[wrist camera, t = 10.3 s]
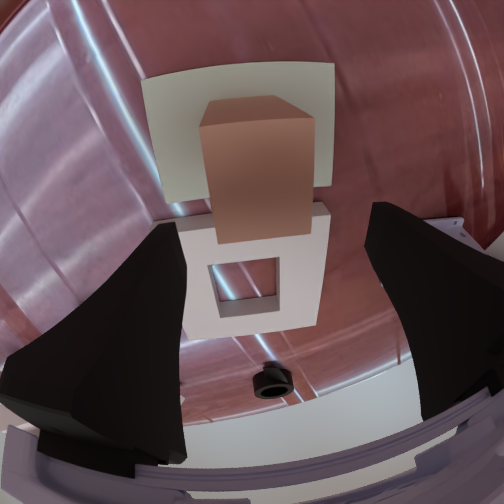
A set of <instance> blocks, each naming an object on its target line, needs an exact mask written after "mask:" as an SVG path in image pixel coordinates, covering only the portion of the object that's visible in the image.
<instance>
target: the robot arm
mask: <svg viewBox="0 0 504 504" xmlns="http://www.w3.org/2000/svg"><path fill="white" fill-rule="evenodd" d="M463 222H464V219H463V218H462V217H452V218H440V219H429V220H422V219H420V218H418V217H416V216H415V215H413V214H411V213H409V212H407V211H405V210H404V209H402V208H400V207H398V206H396V205H393V204H391V203H388V202H373V204H372V210H371V215H370V220H369V226H368V231H367V235H366V240H365V245H364V247H365V249H366V252H367V254H368V257H369V259H370V262H371V264H372V267H373V269H374V271H375V272H376V274H377V276H378V278H379V280H380V284H381V286H382V287H384V289H385V291H386V292H387V294H388V296H389V298H390V300H391V302H392V304H393V306H394V308H395V309H396V311H397V314H398V316H399V318H400V320H401V323H402V326H403V329H404V331H405V334H406V337H407V340H408V343H409V347H410V351H411V354H412V358H413V361H414V366H415V371H416V376H417V381H418V388H419V395H420V404H421V416H422V419H423V422H422V423H420V424H417V425H415V426H413V427H410V428H408V429H405V430H403V431H401V432H398V433H396V434H393V435H390V436H388V437H385V438H382V439H379V440H376V441H373V442H370V443H367V444H364V445H361V446H358V447H354V448H351V449H347V450H344V451H340V452H336V453H332V454H328V455H323V456H319V457H314V458H309V459H304V460H299V461H294V462H287V463H280V464H273V465H264V466H254V467H242V468H222V469H191V468H190V469H189V468H188V469H187V468H170V467H158V464H160V465H168V464H181V463H182V462H183V461H185V459H186V458H187V453H186V446H185V439H184V432H183V424H182V413H181V402H180V382H179V348H180V338H181V330H182V322H183V314H184V307H185V300H186V292H187V264H186V260H185V257H184V253H183V249H182V246H181V242H180V238H179V234H178V231H177V227H176V223H175V222H168V223H161V224H158V225H157V226H156V227H155V228H154V229H153V230H152V231H151V232H150V233H149V234H148V236H147V237H146V238H145V239H144V240H143V241H142V242H141V243H140V245H139V246H138V247H137V248H136V249H135V250H134V251H133V252H132V254H131V255H130V256H129V257H128V258H127V259H126V260H125V261H124V262H123V263H122V265H121V266H120V267H119V268H118V269H117V270H116V271H115V272H114V273H113V274H112V275H111V276H110V277H109V279H108V280H107V281H106V282H105V283H104V284H103V285H102V286H100V287H99V288H98V289H97V290H96V291H95V292H94V293H93V294H92V295H91V296H90V297H89V298H88V299H87V300H85V301H84V302H83V303H82V304H81V305H80V306H78V307H77V308H76V309H75V310H74V311H72V312H71V313H70V314H69V315H68V316H66V317H65V318H64V319H63V320H62V321H60V322H59V323H58V324H56V325H55V326H54V327H52V328H51V329H50V330H48V331H47V332H45V333H44V334H43V335H41V336H40V337H38V338H37V339H35V340H34V341H33V342H31V343H29V344H28V345H26V346H25V347H23V348H21V349H20V350H18V351H17V352H15V353H13V354H12V355H10V356H8V357H7V359H6V362H5V365H4V368H3V371H2V374H1V377H0V403H1V404H3V405H4V406H5V407H6V408H7V409H9V410H10V411H12V412H13V413H14V414H16V415H17V416H19V417H21V418H22V419H24V420H25V421H27V422H29V423H30V424H32V425H33V426H35V427H37V428H39V429H40V433H39V437H38V436H36V435H34V434H32V433H29V432H27V431H24V430H22V429H20V428H17V427H15V426H13V425H8V428H7V433H6V439H5V447H4V453H3V462H2V463H3V464H2V475H1V489H2V490H3V491H4V492H5V493H7V494H8V495H10V496H11V497H13V498H14V499H16V500H17V501H19V502H21V503H22V504H251V503H250V500H249V499H248V498H245V499H194V498H192V497H191V495H190V494H189V493H187V492H186V491H209V492H212V491H215V492H218V491H245V490H257V489H267V488H275V487H283V486H290V485H296V484H301V483H307V482H311V481H317V480H321V479H325V478H330V477H334V476H337V475H341V474H345V473H348V472H352V471H355V470H358V469H361V468H365V467H368V466H371V465H373V464H376V463H379V462H382V461H385V460H387V459H390V458H392V457H395V456H397V455H400V454H402V453H405V452H407V451H409V450H411V449H413V448H416V447H418V446H420V445H422V444H424V443H426V442H428V441H430V440H432V439H434V438H436V437H438V436H440V435H442V434H444V433H446V432H447V431H449V430H451V429H453V428H454V427H456V426H458V425H459V426H458V428H457V431H456V434H455V435H454V436H452V437H451V438H449V439H447V440H445V441H443V442H441V443H439V444H437V445H435V446H433V447H431V448H429V449H427V450H425V451H424V452H422V453H420V454H418V455H416V456H415V458H414V459H415V463H416V466H417V467H415V468H412V469H410V470H408V471H405V472H403V473H401V474H398V475H396V476H393V477H391V478H388V479H385V480H382V481H379V482H376V483H374V484H371V485H367V486H364V487H361V488H358V489H355V490H351V491H347V492H344V493H340V494H336V495H332V496H328V497H324V498H319V499H315V500H310V501H305V502H300V503H295V504H504V262H502V261H500V260H498V259H495V258H493V257H491V256H489V255H488V254H487V253H486V252H485V251H484V250H483V249H482V248H481V246H480V245H479V244H478V243H477V242H476V241H475V240H474V239H473V238H472V237H471V236H470V235H469V234H468V232H467V231H466V230H465V229H464V228H463V227H462V225H463Z"/></svg>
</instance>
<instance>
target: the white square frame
mask: <svg viewBox="0 0 504 504" xmlns="http://www.w3.org/2000/svg"><path fill="white" fill-rule="evenodd" d="M330 218H331V214H330V213H329V211H328V210H327V208H326V207H325V205H324V204H323V202H313V210H312V227H311V234H306V235H297V236H288V237H279V238H271V239H262V240H253V241H245V242H236V243H228V244H220V245H218V242H217V237H216V231H215V225H214V220H213V214H212V213H209V214H202V215H194V216H187V217H180V218H173V219H167V220H160V221H153V223H152V226H151V229H150V232H151V231H152V230H153V229H154V228H155V227H156V226H157V225H158V224H161V223H168V222H175V223H176V227H177V231H178V234H179V238H180V242H181V246H182V249H183V253H184V257H185V260H186V264H187V292H186V300H185V307H184V314H183V322H182V325H183V328H184V330H185V332H186V334H187V337H188V339H189V340H202V339H214V338H224V337H234V336H243V335H252V334H260V333H268V332H275V331H282V330H289V329H295V328H301V327H308V326H313V325H316V320H317V314H318V309H319V302H320V296H321V290H322V283H323V276H324V269H325V262H326V254H327V246H328V237H329V228H330ZM150 232H149V233H150ZM273 257H276V295H273V296H266V297H258V298H250V299H241V300H233V301H224V302H220V301H219V297H218V292H217V288H216V284H215V279H214V275H213V271H212V266H211V265H214V264H222V263H231V262H239V261H248V260H256V259H264V258H273Z"/></svg>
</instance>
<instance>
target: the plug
mask: <svg viewBox="0 0 504 504" xmlns="http://www.w3.org/2000/svg"><path fill="white" fill-rule="evenodd" d="M199 132H200V139H201V145H202V152H203V159H204V165H205V171H206V178H207V184H208V190H209V196H210V202H211V208H212V214H213V220H214V225H215V231H216V237H217V242H218V245H220V244H228V243H236V242H245V241H253V240H262V239H271V238H279V237H288V236H297V235H306V234H311V227H312V210H313V189H314V157H315V118H314V117H312V116H311V115H309V114H307V113H306V112H304V111H302V110H301V109H299V108H297V107H295V106H294V105H292V104H290V103H288V102H286V101H285V100H283V99H281V98H279V97H277V96H275V95H268V96H252V97H240V98H230V99H221V100H213V101H209V103H208V106H207V108H206V110H205V113H204V115H203V118H202V120H201V123H200V125H199Z"/></svg>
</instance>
